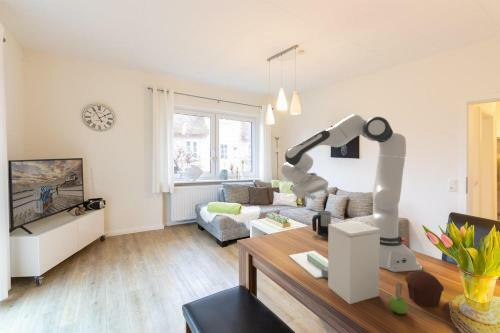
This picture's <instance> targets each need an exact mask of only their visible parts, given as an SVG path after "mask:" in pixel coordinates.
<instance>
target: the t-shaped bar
mask: <svg viewBox="0 0 500 333" xmlns="http://www.w3.org/2000/svg"><path fill="white" fill-rule="evenodd" d="M307 260H308V261H310V262H311V263H312V264H314V265H315V266H316V267H318V268H319V269H321V270H322V275H323V276H324V277H323V278H325V279H328V263H326V262H325V261H323V260H322V259H320V258H319V257H317V256H316V255H314V254H313V253H310V254H307Z"/></svg>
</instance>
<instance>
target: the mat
mask: <svg viewBox="0 0 500 333" xmlns="http://www.w3.org/2000/svg"><path fill="white" fill-rule="evenodd" d="M310 253H313V254H314V255H316V256H317V257H319V258H320V259H322V260H323V261H325V262H326V263H328V258H327V257H324V256H323V255H321V254H320V253H319V252H317V251H316V250H310V251H304V252H299V253H293V254H288V257H289V258H290V259H291V260H292V261H294V262H295V263H296V264H297V265H299V266H300V267H301V268H302V269H303V270H305V271H306V272H307V273H308V274H309V275H311V276H312V277H313V278H315V280H316V279H321V278H325V277H324V276H323V275H322V270H321V269H319V268H318V267H316V266H315V265H314V264H312V263H311V262H310V261H308V260H307V254H310Z"/></svg>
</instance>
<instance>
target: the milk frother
mask: <svg viewBox="0 0 500 333" xmlns="http://www.w3.org/2000/svg"><path fill="white" fill-rule="evenodd" d="M328 224H332V212H331V211H329V210H317V214H314V215H313V216H312V217H311V225H312V231H313V232H315V233H316V232H317V235H320V236H326V237H328Z"/></svg>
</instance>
